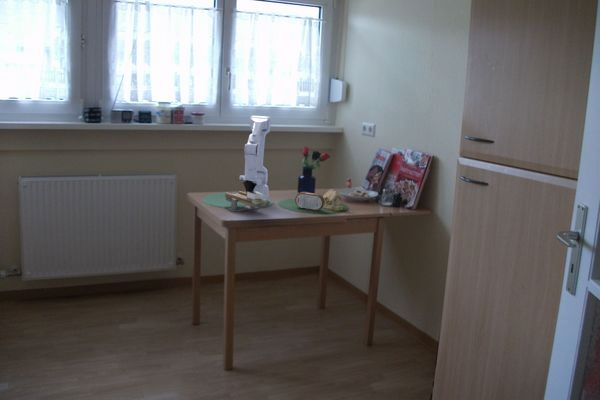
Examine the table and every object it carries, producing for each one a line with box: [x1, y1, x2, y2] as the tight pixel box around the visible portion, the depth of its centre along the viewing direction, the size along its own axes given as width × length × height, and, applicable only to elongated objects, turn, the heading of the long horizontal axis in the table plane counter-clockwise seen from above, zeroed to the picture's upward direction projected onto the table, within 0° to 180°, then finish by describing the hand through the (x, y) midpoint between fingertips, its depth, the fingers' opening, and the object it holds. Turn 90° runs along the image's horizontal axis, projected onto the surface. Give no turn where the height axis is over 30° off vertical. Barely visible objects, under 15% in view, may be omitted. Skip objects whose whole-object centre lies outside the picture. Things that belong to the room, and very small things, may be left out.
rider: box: [247, 191, 263, 201], centre depth 286 cm, size 5×6×4 cm
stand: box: [228, 198, 259, 213], centre depth 293 cm, size 14×5×6 cm, turn 133°
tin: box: [294, 191, 325, 211], centre depth 303 cm, size 15×3×8 cm, turn 71°
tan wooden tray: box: [224, 190, 269, 207], centre depth 292 cm, size 10×22×4 cm, turn 43°
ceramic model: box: [322, 188, 344, 212], centre depth 310 cm, size 14×11×10 cm
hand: (249, 196), depth 289 cm, fingers closed
